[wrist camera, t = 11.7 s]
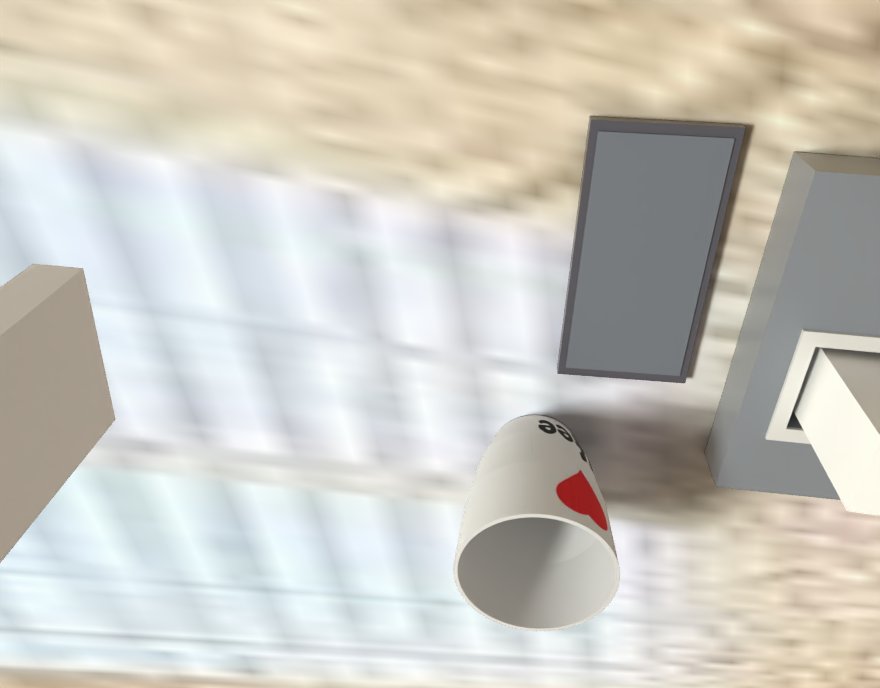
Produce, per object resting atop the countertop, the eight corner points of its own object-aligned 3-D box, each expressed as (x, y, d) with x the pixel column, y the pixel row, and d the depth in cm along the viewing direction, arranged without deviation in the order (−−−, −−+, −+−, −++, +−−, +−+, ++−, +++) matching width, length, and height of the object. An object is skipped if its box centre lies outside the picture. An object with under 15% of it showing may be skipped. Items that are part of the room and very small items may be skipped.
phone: (588, 113, 35) (591, 119, 34) (739, 121, 35) (746, 127, 34) (556, 362, 42) (557, 374, 41) (681, 371, 42) (685, 384, 41)
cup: (619, 480, 46) (640, 613, 37) (496, 512, 48) (489, 644, 39) (575, 376, 42) (589, 496, 34) (445, 416, 44) (426, 537, 36)
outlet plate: (794, 151, 35) (817, 172, 32) (1061, 172, 34) (1108, 195, 31) (704, 452, 44) (716, 489, 41) (913, 474, 43) (940, 512, 40)
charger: (803, 322, 39) (883, 440, 30) (881, 332, 39) (983, 453, 30) (779, 385, 41) (847, 512, 32) (852, 394, 41) (941, 524, 32)
